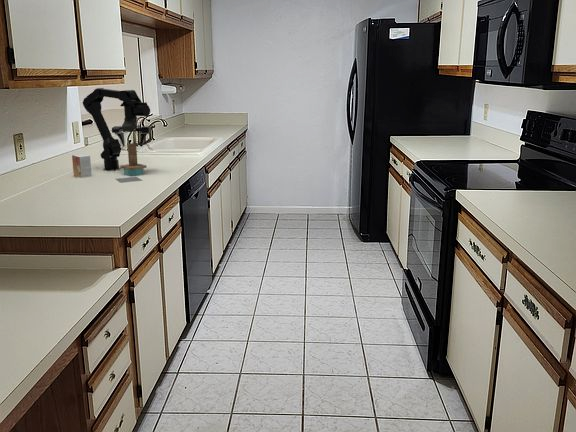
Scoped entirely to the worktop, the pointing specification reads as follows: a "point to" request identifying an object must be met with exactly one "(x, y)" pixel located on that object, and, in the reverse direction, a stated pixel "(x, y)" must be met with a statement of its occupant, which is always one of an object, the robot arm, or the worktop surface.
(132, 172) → the bowl
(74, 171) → the small box
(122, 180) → the mat
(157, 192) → the worktop surface
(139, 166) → the brown upright piece
